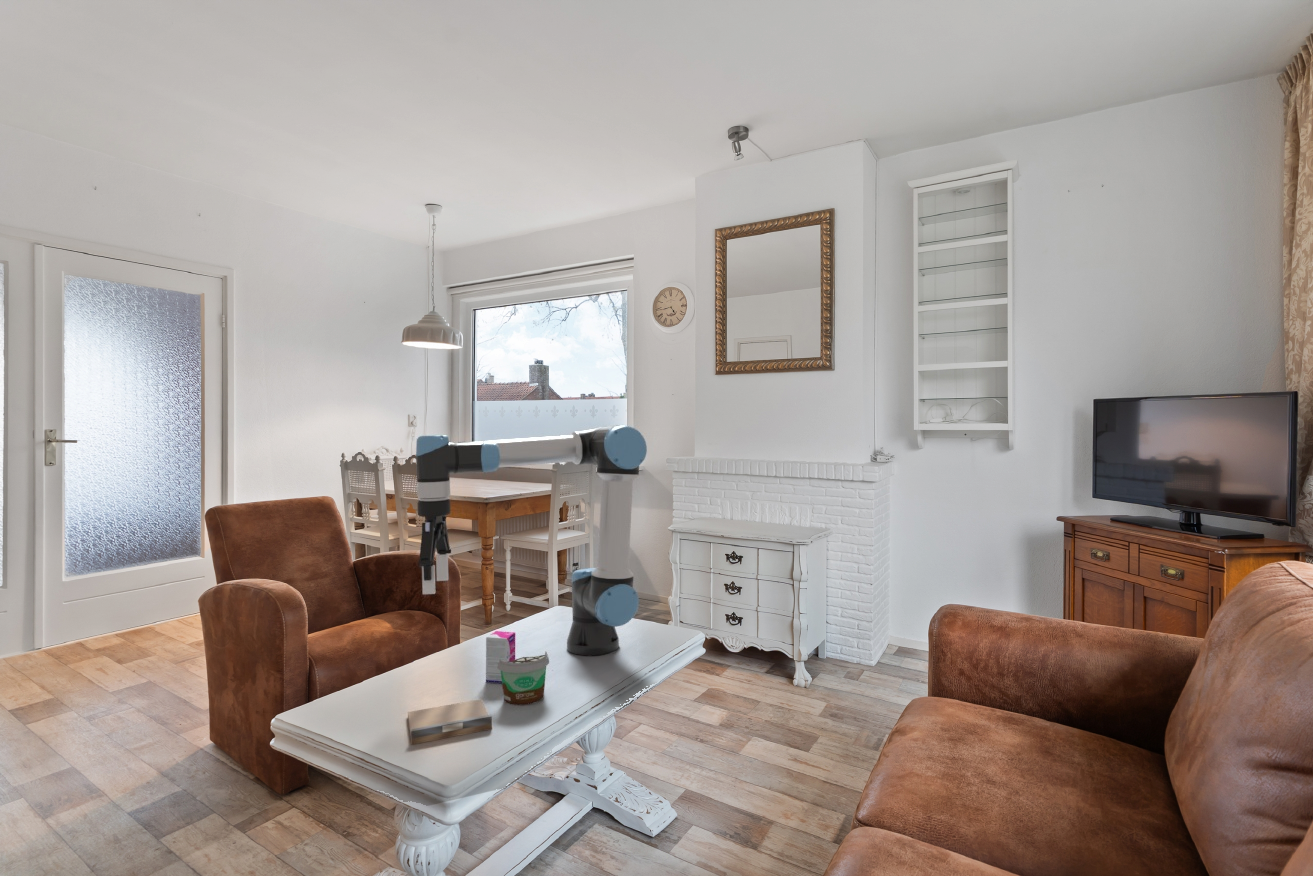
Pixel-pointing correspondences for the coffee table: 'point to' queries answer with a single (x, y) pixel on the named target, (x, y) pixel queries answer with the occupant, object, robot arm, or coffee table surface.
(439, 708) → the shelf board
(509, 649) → the supplement box
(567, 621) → the coffee table surface
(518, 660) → the food container
